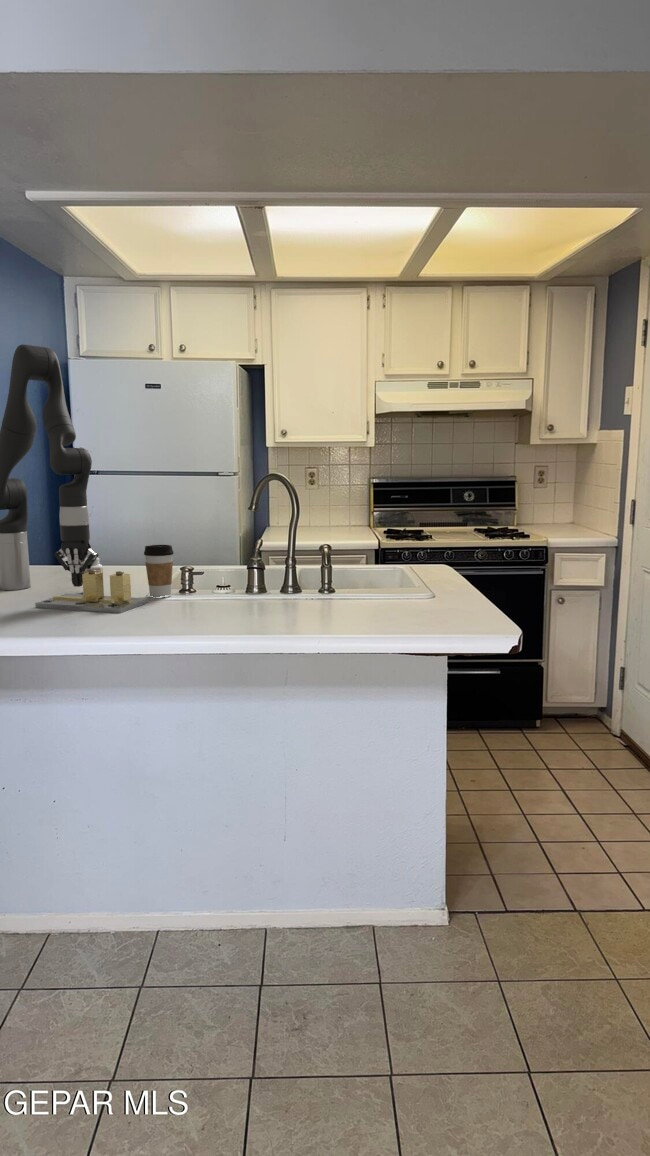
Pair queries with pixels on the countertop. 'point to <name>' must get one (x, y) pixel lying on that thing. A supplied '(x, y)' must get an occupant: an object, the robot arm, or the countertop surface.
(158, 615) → the countertop surface
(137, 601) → the hole plate
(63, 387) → the robot arm
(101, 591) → the block
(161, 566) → the coffee cup
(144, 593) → the countertop surface
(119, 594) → the dividers beam
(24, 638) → the countertop surface
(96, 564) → the supplement bottle
